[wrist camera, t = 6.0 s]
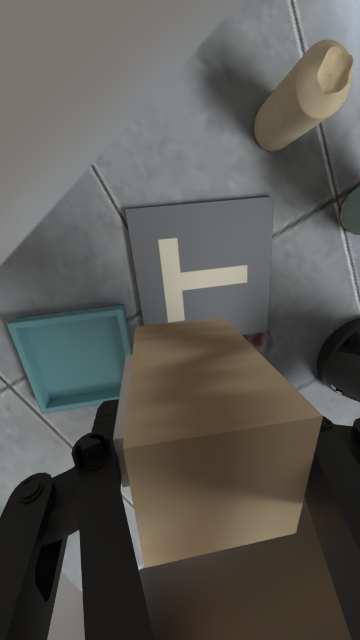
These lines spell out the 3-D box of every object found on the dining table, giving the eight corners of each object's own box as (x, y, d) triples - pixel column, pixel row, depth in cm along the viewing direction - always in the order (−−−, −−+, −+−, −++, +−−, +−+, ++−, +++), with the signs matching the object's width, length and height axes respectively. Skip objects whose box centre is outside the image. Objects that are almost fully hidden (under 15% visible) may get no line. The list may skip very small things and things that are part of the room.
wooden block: (224, 317, 15) (322, 416, 7) (222, 390, 17) (295, 533, 9) (135, 326, 14) (123, 448, 6) (144, 401, 17) (145, 568, 8)
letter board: (271, 197, 31) (274, 196, 30) (265, 329, 38) (267, 331, 37) (125, 210, 29) (125, 209, 28) (147, 347, 36) (147, 349, 35)
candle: (246, 113, 27) (298, 47, 18) (286, 88, 27) (360, 8, 18) (262, 161, 29) (316, 123, 20) (299, 138, 29) (372, 89, 20)
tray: (123, 304, 33) (121, 309, 31) (139, 387, 38) (138, 397, 36) (17, 317, 32) (6, 324, 29) (48, 402, 37) (41, 413, 34)
